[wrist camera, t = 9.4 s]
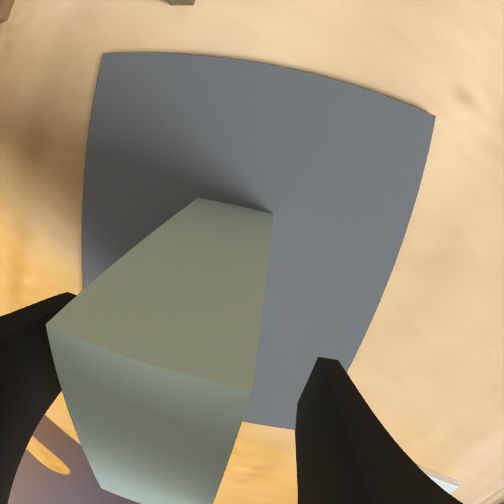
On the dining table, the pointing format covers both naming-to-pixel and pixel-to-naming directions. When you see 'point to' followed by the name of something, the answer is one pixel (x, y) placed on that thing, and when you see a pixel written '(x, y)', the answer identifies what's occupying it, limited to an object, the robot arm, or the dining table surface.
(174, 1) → the offcut rack
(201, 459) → the tall pastel pillar
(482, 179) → the dining table surface
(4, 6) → the offcut stack
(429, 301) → the dining table surface
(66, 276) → the dining table surface
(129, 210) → the slate mat
